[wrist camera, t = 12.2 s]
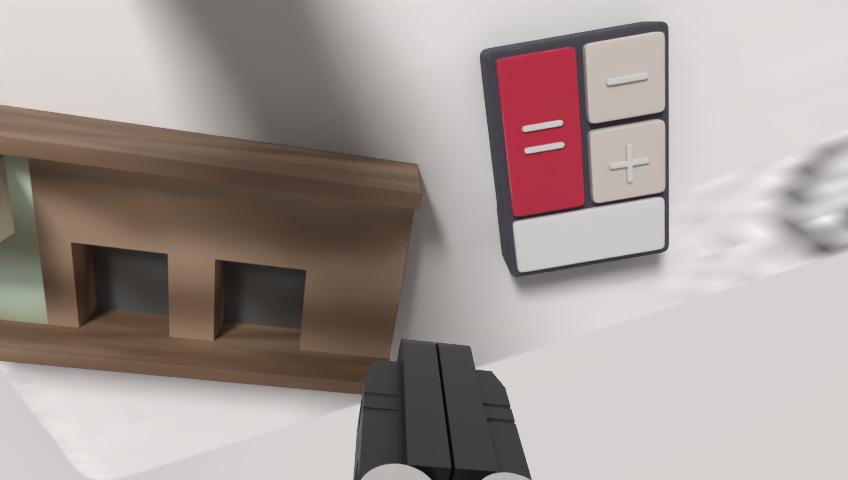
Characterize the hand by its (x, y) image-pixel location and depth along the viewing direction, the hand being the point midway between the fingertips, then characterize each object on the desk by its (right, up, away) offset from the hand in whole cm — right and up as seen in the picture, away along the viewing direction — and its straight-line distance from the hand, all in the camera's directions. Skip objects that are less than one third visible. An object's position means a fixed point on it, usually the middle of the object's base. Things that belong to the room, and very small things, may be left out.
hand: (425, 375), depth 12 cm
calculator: (+10, +9, +27) cm, 30 cm away
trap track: (-17, +3, +27) cm, 32 cm away
